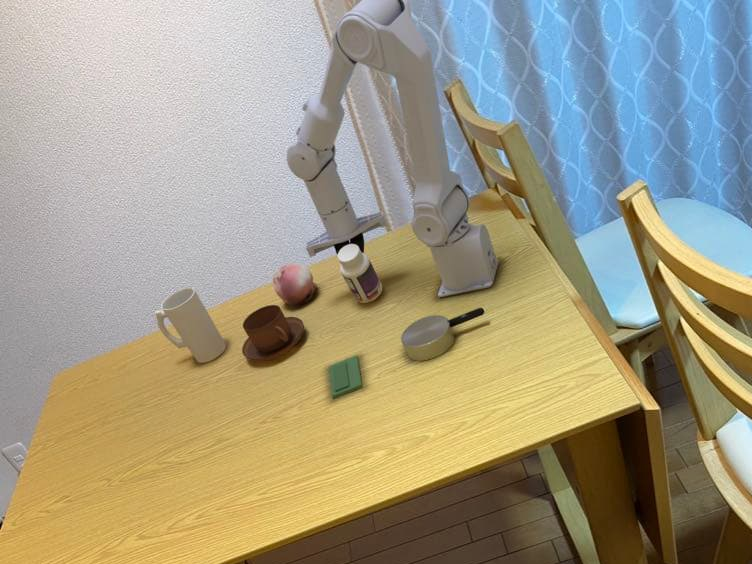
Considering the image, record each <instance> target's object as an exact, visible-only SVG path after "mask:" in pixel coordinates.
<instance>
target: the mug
mask: <svg viewBox="0 0 752 564" xmlns="http://www.w3.org/2000/svg"><path fill="white" fill-rule="evenodd" d="M195 289H196V288H194V287H190V286H189V287H184V288H181V289H178V290H176V291H174V292H172V293H170V294H169V295H168V296H167V297H166V298H165V299H163V301H162V302H161V305H160V308H161V309H157V310H155V312H154V315H155V318H156V321H157V322H156V323H157V326H158V328H159V330H160V332H161V333H162V335H163V336H164V337H165V338H166V339H167V340H168V341H169V342H171V343H172V344H173V345H174V346H176V347H177V348H178V349H182V348H187V349H188V350H189V351H190V353H191V354H192V356H193V358H195V360H196V361H197V362H198V363H200V364H201V363H202V364H205V363H208V362H211V361H213V360H215V359H217V358H219V357H220V356H221V355H222V354H223V353H224V352H225V350H226V348H227V344H226V342H225V340H224V339H223V337H222V334H221V333H220V331H219V329H218V328H217V326H216V324H215V322H214V320H213V318H212V316H211V315H210V314H209V312H208V310H207V308H206V307H205V305H204V303H203V301H202V300H201V297H200V296H199V294H198V293H197V291H196V290H195ZM166 318H167V319H168V320H169V322H170V323H171V325H172V326H173V329H175V331H176V332H177V334H178V335H179V337H180V338H179V337H177V336H174V335H173V334H172V333H171V332H170V331H169V330H168V329H167V328H166V325H165V322H164V319H166Z"/></svg>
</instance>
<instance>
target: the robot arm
mask: <svg viewBox="0 0 752 564" xmlns="http://www.w3.org/2000/svg"><path fill="white" fill-rule="evenodd" d="M410 6H411V5H410V1H409V0H360V2H358V3H356V5H355V6H353V8H352V9H351V10H350V11H347V12H346V13H345V14H342V16H341V17H340V18H339V20H338V22H337V26H336V30H335V32H334V33H333V35H332V37H331V48H330V50H329V51H330V52H329V56H328V59H327V63H326V67H325V71H324V74H323V79H322V82H321V86H320V90H319V93H315V94H312V95H311V97H310V98H307V99H306V100H305V101H304V102H303V105H302V108H301V109H302V111H304V114H303V117H302V120H301V125H299V126H298V127H297V129H296V131H295V135H296V136H297V138H296V142H295V143H293V144H290V146H289V147H288V148H286V149H287V150H286V163H287V165H288V168H289V170H290V171H291V172H292V174H293V175H294V176H296V177H297V178H298V179H300V180H303V183H304V185H305V187H306V189H307V192H308V194H309V197H310V198H311V200H312V203H313V205H314V207H315V210H316V211H317V214H318V215H319V219H320V220H321V223H322V224H323V227H324V229H325V232H323V233H322V234H320V235H318V236H316V237H315V238H313V239H311V240H309V241H307V242H305V251H306V252H307V253H308V256H309V258H312V257H315V256H316V254H318V253H320V252H322V251H325V250H327V249H331V248H332V247H334V250H335V253H336V255H337V256H338V253H339V251H340V250H341V249H342V248H343V247H344V246H346V245H349V244H355V245H357V246H358V247H359V249H360V250H361V252H362V253H364V254H365V237H364V234H366V233H368V232H371V231H373V230H376V229H378V228H384V227H387V226H388V223H387V220H386V217H385V214H384V212H383V211H382V210H381V211H377V212H375V213H372V214H368V215H364V216H360V217H357V215H356V213H355V211H354V208H353V205H352V203H351V201H350V198H349V196H348V194H347V191H346V188H345V187H344V183H343V182H342V179H341V177H340V174H339V172H338V164H337V162H336V159H335V158H336V153H337V150H336V144H335V143H336V140H337V137H338V134H339V132H340V129H341V126H342V124H343V120H344V118H345V109H344V106H343V104H342V103H341V102H342V99H343V97H344V95H345V93H346V90H347V88H348V85H349V83H350V80H351V78H352V76H353V74H354V70H355V68H356V66H357V64H358V63H359V64H361V65H364V66H366V67H370V68H372V69H373V70H376V71H379V72H381V73H384V74H386V75H391V77H393V78H394V80H395V83H396V88H397V92H398V93H397V94H398V98H399V102H400V108H401V113H402V117H403V123H404V126H405V132H406V137H407V142H408V147H409V151H410V153H409V154H410V156H411V157H410V158H411V162H412V166H413V172H414V177H415V181H416V183H415V189H414V192H413V193H414V194H413V198H412V207H413V216H412V218H411V228H412V231H413V233H414V235H415V237H416V238H417V239H418V240H419V241H420V242H421V243H423V244H424V245H426V247H427V248H429V250H430V254H431V255H432V258H433V260H434V263H435V266H436V269H437V271H438V274H439V277H440V280H441V284H440V287H439V290H438V293H437V296H438V298H443V297H449V296H453V295H459V294H464V293H468V292H474V291H478V290H483V289H488V288H491V287H492V286H493V284H494V281H495V277H496V273H497V270H498V266H499V263H500V260H499V259H498V258H497V255H496V252H495V249H494V246H493V243H492V240H491V237H490V236H491V235H490V233H489V230H488V229H487V226H486V225H485V224H472V223H469V215H468V213H467V212H468V211H469V209H470V205H471V199H470V195H469V193H468V191H467V190H466V189H465V186H464V185H463V182H462V178H461V174H460V173H458V172H456V171H453V170H451V166H450V161H449V160H450V159H449V153H448V148H447V141H446V136H445V131H444V130H445V129H444V125H443V119H442V112H441V107H440V101H439V96H438V89H437V83H436V77H435V71H434V66H433V60H432V54H431V51H430V49H429V46H428V44H427V42H426V41H425V39H424V37H423V36H422V34H421V32H420V31H419V29H418V27H417V25H416V24H415V21H414V20H413V17H412V14H411V13H412V12H411V7H410Z"/></svg>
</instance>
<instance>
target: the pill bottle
mask: <svg viewBox="0 0 752 564" xmlns="http://www.w3.org/2000/svg"><path fill="white" fill-rule="evenodd" d="M337 259H338V262H339V263H340V265H339V271H340V275H342V277H343V279H344V281H345V283H346V285H347V287H348V289H349V290H350V292H351V294H352V295H353V297H354V299H355V300H356V301H357V302H358V303H361V304H369V303H371V302H373V301H375V300H376V299H377V298H378V297H380V295H381V294H382V292H383V284H382V281H381V280H380V278H379V276H378V274H377V271H376V270H375V268H374V266H373V264H372V262H371V260H370V258H369V256H368V255H367V254H366V253H365V252H364V253H362V252H361V250H360V249H359V247H358V246H357V245H355V244H349V245H346V246H344V247H343V248H342V249H341V250H340V251H339V253H338V255H337Z"/></svg>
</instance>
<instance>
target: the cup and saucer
mask: <svg viewBox="0 0 752 564" xmlns="http://www.w3.org/2000/svg"><path fill="white" fill-rule="evenodd" d="M242 329H243V330H244V332H245V334H246V335H247V338H246V340H245V341H244V343H243V345H242V349H241V351H242V355H243V357H245V358H246V359H247V360H249V361H254V362H265V361H266V362H267V361H269V360H273V359H277V358H279V357H280V356H283V355H284V354H286V353H287V352H289V351H290V350H291V349H293V348H294V347H295V346H296V345H297V344H298V343H299V342H300V340H301V338H302V336H303V334H304V331H305V324H304V322H303V320H302V319H300V318H299V317H296V316H285V315H284V312H283V310H282V308H281V306H280V305H276V304H268V305H265V306H263V307H259V308H258V309H256V310H254V311H253V312H252V313H250V314H249V315H247V317H245V318H244V320H243V323H242Z"/></svg>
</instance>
